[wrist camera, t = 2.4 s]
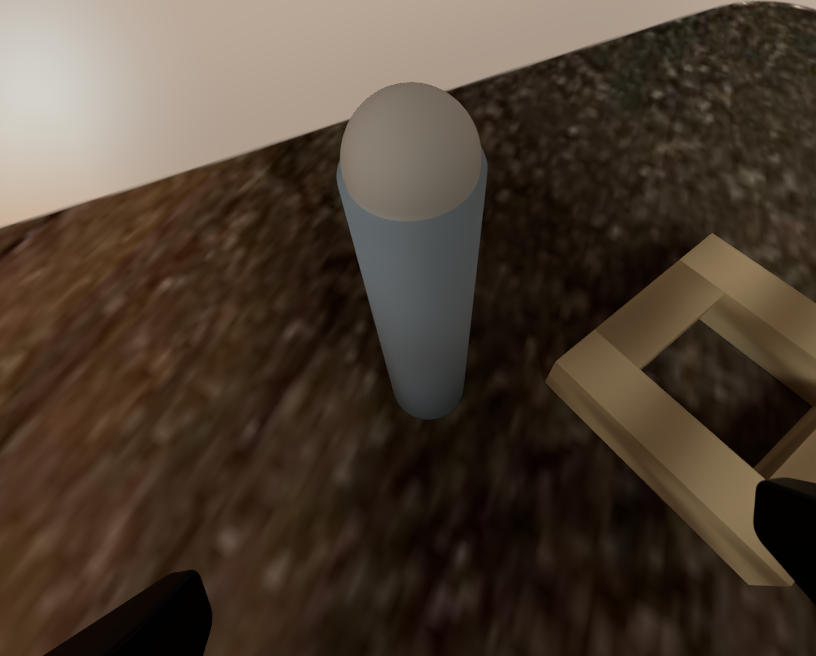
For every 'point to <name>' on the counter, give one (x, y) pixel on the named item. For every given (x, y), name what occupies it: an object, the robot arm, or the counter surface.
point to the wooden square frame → (673, 425)
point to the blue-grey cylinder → (416, 234)
